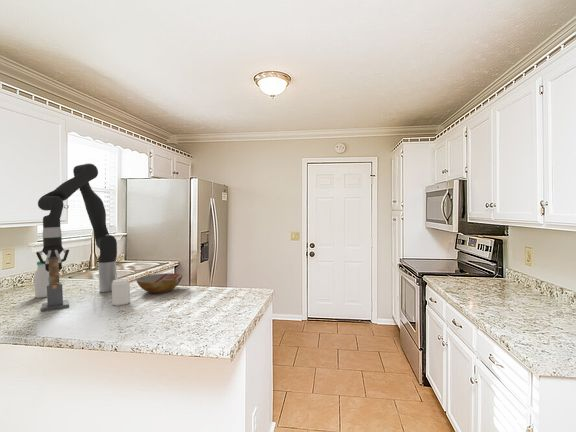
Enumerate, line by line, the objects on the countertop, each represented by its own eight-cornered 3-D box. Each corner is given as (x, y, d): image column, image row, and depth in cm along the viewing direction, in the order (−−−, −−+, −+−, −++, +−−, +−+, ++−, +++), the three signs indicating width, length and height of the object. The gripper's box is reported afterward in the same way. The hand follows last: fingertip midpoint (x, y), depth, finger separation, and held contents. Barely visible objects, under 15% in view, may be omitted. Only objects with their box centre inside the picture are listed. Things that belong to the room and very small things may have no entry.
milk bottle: (45, 298, 183) (43, 262, 183) (31, 298, 184) (29, 262, 183) (55, 294, 191) (53, 259, 191) (42, 294, 191) (40, 260, 191)
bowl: (167, 297, 177) (167, 282, 176) (126, 296, 182) (125, 282, 182) (190, 286, 201) (190, 273, 201) (153, 285, 206) (153, 273, 206)
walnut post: (59, 289, 168) (58, 255, 167) (59, 290, 164) (58, 256, 164) (49, 290, 165) (48, 256, 165) (49, 292, 162) (48, 257, 162)
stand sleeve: (68, 302, 173) (67, 280, 172) (69, 307, 164) (68, 284, 163) (42, 306, 166) (41, 283, 166) (41, 311, 157) (40, 287, 157)
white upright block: (108, 305, 166) (107, 281, 165) (123, 300, 173) (122, 278, 173) (119, 306, 162) (118, 282, 162) (133, 302, 169) (132, 279, 169)
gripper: (69, 235, 171) (70, 268, 172) (34, 237, 163) (36, 271, 164) (69, 235, 165) (71, 270, 166) (33, 237, 157) (35, 273, 157)
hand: (53, 270), depth 165 cm, fingers closed on walnut post, 4 cm apart
